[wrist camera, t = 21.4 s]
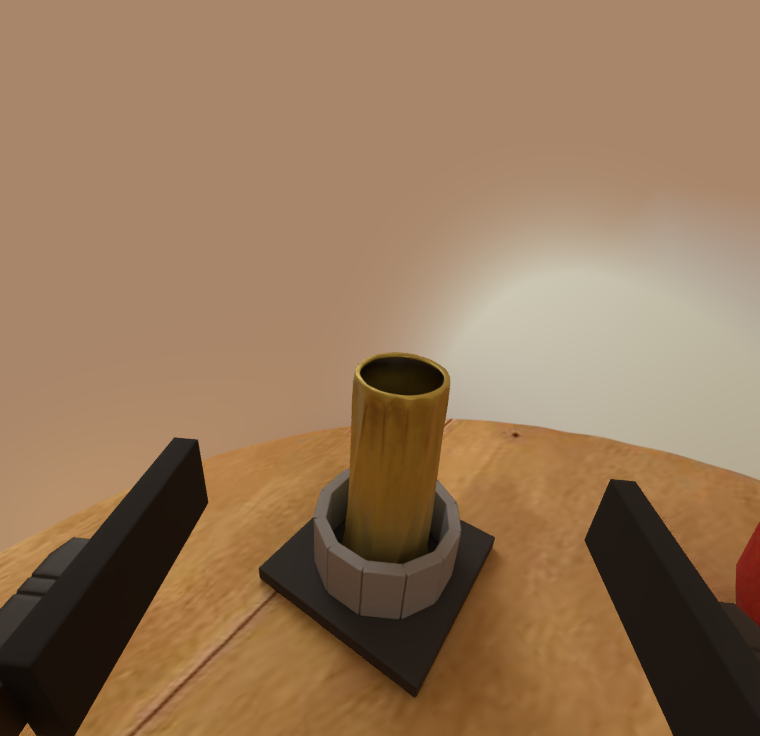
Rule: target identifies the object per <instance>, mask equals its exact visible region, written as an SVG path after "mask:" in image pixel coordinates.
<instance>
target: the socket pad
mask: <svg viewBox="0 0 760 736" xmlns="http://www.w3.org/2000/svg"><path fill="white" fill-rule="evenodd" d="M349 475H350V469H347V470H345V472H344V471H342V472H341V473H340V474H339V475H338V476H337V477H335V478H334V479H333V480H332V481H331V482H330V483H329V484H327V485H326V486H325V487H324V488H323V489H322V491H321V492H320V495H319V499H318V503H317V507H316V511H315V514H314V517H313V518H312V519H311V520H310V521H309V522H308V523H307V524H306V525H305V526H304V527H302V528H301V529H300V530H299V531H298V532H297V533H296V534H295V535H294V536H293V537H292V538H291V539H290V540H288V541H287V542H286V543H285V544H284V545H283V546H282V547H281V548H280V549H279V550H278V551H277V552H276V553H274V554H273V555H272V556H271V557H270V558H269V559H268V560H267V561H266V562H265V563H264V564H263V565H262V566H260V567H259V574H260V578H261V579H262V580H264V581H265V582H266V583H268V584H269V585H270V586H271V587H273V588H274V589H275V590H277V591H278V592H279V593H281V594H282V595H283V596H284V597H286V598H287V599H288V600H290V601H291V602H292V603H293V604H295V605H296V606H297V607H299V608H300V609H301V610H303V611H304V612H305V613H306V614H308V615H309V616H310V617H312V618H313V619H314V620H315V621H317V622H318V623H319V624H321V625H322V626H323V627H325V628H326V629H327V630H328V631H330V632H331V633H332V634H334V635H335V636H336V637H338V638H339V639H340V640H341V641H343V642H344V643H345V644H347V645H348V646H349V647H350V648H352V649H353V650H354V651H356V652H357V653H358V654H360V655H361V656H362V657H363V658H365V659H366V660H367V661H369V662H370V663H371V664H372V665H374V666H375V667H376V668H378V669H379V670H380V671H382V672H383V673H384V674H385V675H387V676H388V677H389V678H391V679H392V680H393V681H394V682H396V683H397V684H398V685H400V686H401V687H402V688H404V689H405V690H406V691H407V692H409V693H410V694H411V695H413V696H414V697H416V696H417V694H418V692H419V690H420V688H421V686H422V684H423V682H424V680H425V678H426V676H427V674H428V672H429V670H430V668H431V666H432V664H433V662H434V660H435V658H436V656H437V654H438V652H439V650H440V648H441V646H442V645H443V643H444V641H445V639H446V637H447V635H448V633H449V631H450V629H451V627H452V625H453V623H454V621H455V619H456V617H457V615H458V613H459V611H460V609H461V607H462V605H463V603H464V601H465V599H466V597H467V595H468V594H469V592H470V590H471V588H472V586H473V584H474V582H475V580H476V578H477V576H478V574H479V572H480V570H481V568H482V566H483V564H484V562H485V560H486V558H487V556H488V554H489V552H490V550H491V548H492V546H493V543H494V539H495V537H493V536H491V535H489V534H487V533H485V532H483V531H481V530H479V529H477V528H475V527H474V526H472V525H470V524H468V523H466V522H464V521H462V520H460V518H459V511H458V505H457V504H456V503H457V502H456V501H455V500H454V498H453V497H452V496H451V495H450V494H449V493H448V491H447V490H446V489H445V488H444V487H443V485H442V484H441V483H440V482H439V481H438V480H437V483H436V490H435V498H434V505H433V513H432V520H431V527H430V533H429V539H428V543H427V545H428V554H427V555H424V556H422V557H419V558H417V559H414V560H412V561H409V562H407V563H404V564H396V563H386V562H376V561H366V560H365V559H363V558H362V557H360V556H359V555H357V554H355V553H354V552H352V551H351V550H349V549H348V548H346V547H344V546H343V545H341V543H342V538H343V535H344V531H345V523H346V515H347V507H348V493H349Z"/></svg>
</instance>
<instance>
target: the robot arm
mask: <svg viewBox="0 0 760 736" xmlns="http://www.w3.org/2000/svg"><path fill="white" fill-rule="evenodd" d="M207 504H208V497H207V491H206V485H205V479H204V473H203V467H202V461H201V455H200V450H199V444H198V440H195V439H185V438H175V437H174V439H173V440H172V441H171V442H170V443H169V445H168V446H167V447H166V448H165V450H164V451H163V452H162V453H161V455H159V457H158V458H157V459H156V460H155V461H154V463H153V464H152V465H151V466H150V468H149V469H148V470H147V471H146V472H145V474H144V475H143V476H142V477H141V478H140V480H139V481H138V482H137V483H136V484H135V486H134V487H133V488H132V489H131V490H130V492H129V493H128V494H127V495H126V497H125V498H124V499H123V500H122V501H121V503H120V504H119V505H118V506H117V507H116V509H115V510H114V511H113V512H112V513H111V515H110V516H109V517H108V518H107V519H106V521H105V522H104V523H103V524H102V526H101V527H100V528H99V529H98V530H97V532H96V533H95V534H94V535H93V536H92V538H91V539H85V538H75V537H73V538H72V539H70V540H69V541H67V542H66V543H64V544H63V545H62V546H60V547H59V548H57V549H56V550H55V551H53V552H52V553H50V554H49V555H48V557H47V558H46V559H45V560H44V561H43V562H42V563H41V564H40V565H39V567H38V568H37V569H36V570H35V571H34V572H33V573H32V576H31V577H30V578H28V579H27V580H26V581H25V582H24V583H23V584H22V585H21V587H20V588H19V589H18V590H17V593H16V594H15V595H12V597H11V598H10V599H9V600H8V601H7V602H6V603H5V604H4V605H3V607H2V608H1V609H0V736H19V734H20V733H21V731H22V730H23V728H24V727H25V725H26V724H27V722H28V724H29V725H30V727H31V728H32V730H33V731H34V733H35V734H36V736H75V734H76V732H77V730H78V729H79V727H80V725H81V723H82V722H83V720H84V718H85V716H86V715H87V713H88V711H89V710H90V708H91V706H92V704H93V703H94V701H95V699H96V697H97V696H98V694H99V692H100V690H101V689H102V687H103V685H104V683H105V682H106V680H107V678H108V676H109V675H110V673H111V671H112V670H113V668H114V666H115V664H116V663H117V661H118V659H119V657H120V656H121V654H122V652H123V650H124V649H125V647H126V645H127V643H128V642H129V640H130V638H131V636H132V635H133V633H134V631H135V630H136V628H137V626H138V624H139V623H140V621H141V619H142V617H143V616H144V614H145V612H146V610H147V609H148V607H149V605H150V603H151V602H152V600H153V598H154V596H155V595H156V593H157V591H158V590H159V588H160V586H161V584H162V583H163V581H164V579H165V577H166V576H167V574H168V572H169V570H170V569H171V567H172V565H173V563H174V562H175V560H176V558H177V556H178V555H179V553H180V551H181V550H182V548H183V546H184V544H185V543H186V541H187V539H188V537H189V536H190V534H191V532H192V530H193V529H194V527H195V525H196V523H197V522H198V520H199V518H200V516H201V515H202V513H203V511H204V510H205V508H206V506H207ZM585 542H586V545H587V547H588V549H589V551H590V553H591V556H592V558H593V560H594V562H595V564H596V567H597V569H598V571H599V573H600V575H601V578H602V580H603V582H604V584H605V586H606V589H607V591H608V593H609V595H610V597H611V600H612V602H613V604H614V606H615V608H616V611H617V613H618V615H619V617H620V619H621V622H622V624H623V626H624V628H625V630H626V633H627V635H628V637H629V639H630V641H631V644H632V646H633V648H634V650H635V652H636V655H637V657H638V659H639V661H640V663H641V666H642V668H643V670H644V672H645V674H646V677H647V679H648V681H649V683H650V685H651V687H652V690H653V692H654V694H655V696H656V698H657V701H658V703H659V705H660V707H661V709H662V712H663V714H664V716H665V718H666V720H667V723H668V725H669V727H670V729H671V731H672V734H673V736H760V627H759V626H758V625H757V624H756V623H755V622H754V621H753V620H752V619H751V618H750V617H748V616H747V615H746V614H745V613H744V612H743V611H742V610H741V609H740V608H739V607H737V606H736V605H735V604H734V603H725V602H718V600H717V599H716V597H715V596H714V595H713V593H712V592H711V590H710V589H709V587H708V586H707V584H706V583H705V582H704V580H703V579H702V577H701V576H700V574H699V573H698V571H697V570H696V569H695V567H694V566H693V564H692V563H691V561H690V560H689V558H688V557H687V556H686V554H685V553H684V551H683V550H682V548H681V547H680V545H679V544H678V543H677V541H676V540H675V538H674V537H673V535H672V534H671V532H670V531H669V530H668V528H667V527H666V525H665V524H664V522H663V521H662V519H661V518H660V517H659V515H658V514H657V512H656V511H655V509H654V508H653V506H652V505H651V504H650V502H649V501H648V499H647V498H646V496H645V495H644V493H643V492H642V491H641V489H640V488H639V486H638V485H637V483H636V482H635V481H625V480H614V479H610V482H609V484H608V486H607V489H606V491H605V493H604V496H603V498H602V500H601V503H600V505H599V507H598V510H597V512H596V514H595V517H594V519H593V521H592V524H591V526H590V528H589V530H588V533H587V535H586V537H585Z"/></svg>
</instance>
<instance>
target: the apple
mask: <svg viewBox="0 0 760 736" xmlns="http://www.w3.org/2000/svg"><path fill="white" fill-rule="evenodd" d="M736 606H737V607H739V608H740V609H741V610H742V611H743V612H744V613H745V614H746V615H747V616H748V617H750V618H751V619H752V620H753V621H754V622H755V623H756V624H757V625H758V626H759V627H760V522H759V524H758V525H757V527H756V529H755V531H754V533H753V535H752V537H751V538H750V540H749V542H748V544H747V546H746V548H745V550H744V551H743V553H742V555H741V557H740V559H739V561H738V563H737V564H736Z"/></svg>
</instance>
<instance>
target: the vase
mask: <svg viewBox="0 0 760 736" xmlns="http://www.w3.org/2000/svg"><path fill="white" fill-rule="evenodd" d="M449 390H450V376H449V374H448V372H447V370H446V369H445V368H443V367H442V366H441V365H439V364H438V363H436V362H434V361H432V360H430V359H427V358H424V357H421V356H418V355H414V354H409V353H397V352H396V353H382V354H377V355H374V356H371V357H368V358H366V359H365V360H363V361H362V362H361V363H360V364H359V365H358V366H357V368H356V370H355V374H354V380H353V394H352V424H351V454H350V475H349V493H348V507H347V515H346V523H345V531H344V535H343V538H342V543H341V545H343V546H344V547H346V548H348V549H349V550H351V551H352V552H354V553H355V554H357V555H359V556H360V557H362V558H363V559H365V560H366V561H376V562H386V563H396V564H404V563H407V562H409V561H412V560H414V559H417V558H419V557H422V556H424V555H427V554H428V545H427V543H428V539H429V533H430V527H431V520H432V513H433V505H434V498H435V490H436V483H437V475H438V467H439V459H440V452H441V444H442V437H443V430H444V424H445V418H446V413H447V406H448V399H449Z"/></svg>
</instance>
